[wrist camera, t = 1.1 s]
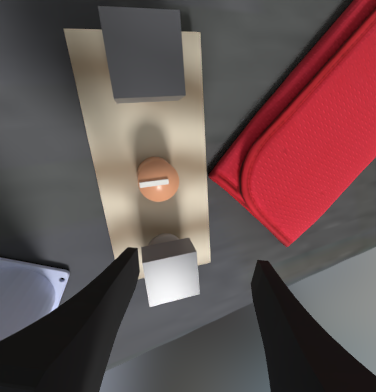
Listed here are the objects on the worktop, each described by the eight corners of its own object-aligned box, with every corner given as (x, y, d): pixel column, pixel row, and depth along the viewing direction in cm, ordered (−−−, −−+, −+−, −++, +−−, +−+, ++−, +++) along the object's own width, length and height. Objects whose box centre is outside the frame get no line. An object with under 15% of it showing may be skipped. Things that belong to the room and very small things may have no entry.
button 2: (178, 100, 15) (185, 95, 13) (116, 103, 14) (113, 98, 12) (172, 29, 14) (179, 10, 12) (103, 27, 13) (97, 5, 11)
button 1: (192, 276, 20) (199, 293, 18) (147, 286, 19) (149, 307, 17) (189, 237, 19) (196, 251, 17) (141, 247, 18) (142, 263, 16)
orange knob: (173, 188, 20) (181, 199, 17) (139, 193, 19) (141, 205, 16) (170, 154, 19) (178, 159, 15) (134, 158, 18) (135, 164, 15)
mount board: (204, 252, 25) (212, 265, 23) (121, 271, 23) (120, 287, 21) (193, 42, 18) (202, 28, 16) (71, 40, 16) (60, 24, 14)
